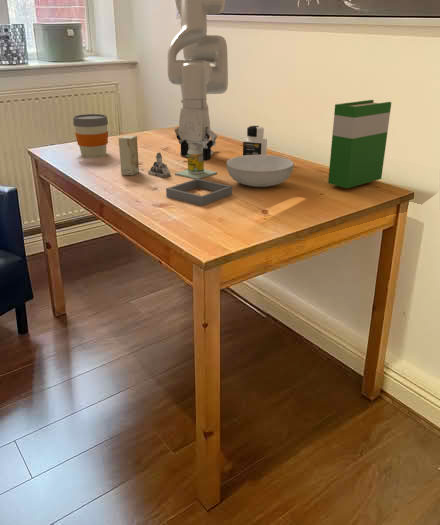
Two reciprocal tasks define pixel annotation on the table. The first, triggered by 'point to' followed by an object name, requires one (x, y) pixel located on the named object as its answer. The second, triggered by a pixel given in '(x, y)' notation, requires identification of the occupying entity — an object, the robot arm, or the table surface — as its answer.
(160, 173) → the grey building model
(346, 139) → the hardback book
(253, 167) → the serving bowl
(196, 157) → the supplement bottle
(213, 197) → the grey square frame
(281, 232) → the table surface
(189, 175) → the place mat
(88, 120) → the reusable coffee cup
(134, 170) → the skincare box
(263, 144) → the medicine bottle
